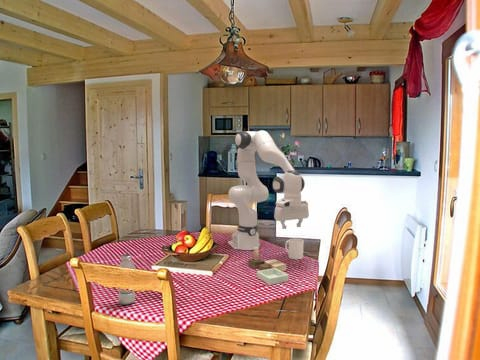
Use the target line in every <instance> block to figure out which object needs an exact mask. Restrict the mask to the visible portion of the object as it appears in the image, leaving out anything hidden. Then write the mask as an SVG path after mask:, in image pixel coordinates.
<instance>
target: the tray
mask: <svg viewBox="0 0 480 360" xmlns="http://www.w3.org/2000/svg"><path fill="white" fill-rule="evenodd" d="M289 276H290V275H289V274H288V273H286V272H285V271H283V272H282V271H280V270H278V269H276V268H273V269H267V270H262V271H261V270H257V271H256V277H257V278H259V279H260V280H261V281H263V282H264V283H265V284H266V285H268V286H272V285H277V284H283V283H285V282H286V283H287V282H289Z"/></svg>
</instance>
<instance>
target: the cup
mask: <svg viewBox="0 0 480 360" xmlns="http://www.w3.org/2000/svg"><path fill="white" fill-rule="evenodd" d="M304 241H305V240H304V239H302V238H290V239H288V240H286V242H285V245H284V246H285V247H284V248H285V251H286V252H287V253H288V258H289V259H291V260H294V259H295V261H296V260H298V259H300V260H302V259H304V244H305V243H304Z"/></svg>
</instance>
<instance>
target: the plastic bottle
mask: <svg viewBox="0 0 480 360" xmlns="http://www.w3.org/2000/svg"><path fill="white" fill-rule="evenodd" d="M132 259H133V258H132V254H130V253H125V254H121V262H120V263H119V265H118V267H124V268H131V269H135V270H136V265H135V264H134V262H133V261H132ZM117 299H118V303H120V305H126V306H127V305H131V304H133V303H134V302H135V300H136V292H135V290H134V291H130V290H122V289H118V296H117Z"/></svg>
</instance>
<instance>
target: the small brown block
mask: <svg viewBox="0 0 480 360" xmlns="http://www.w3.org/2000/svg"><path fill="white" fill-rule="evenodd" d="M267 269H271V266H269V265H267V264H263V265H260V268H259V271H262V270H267Z"/></svg>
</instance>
